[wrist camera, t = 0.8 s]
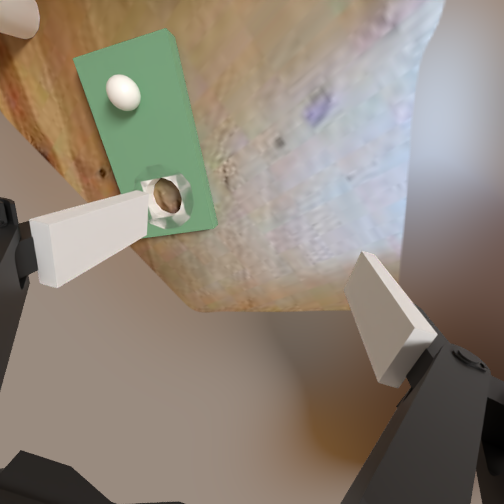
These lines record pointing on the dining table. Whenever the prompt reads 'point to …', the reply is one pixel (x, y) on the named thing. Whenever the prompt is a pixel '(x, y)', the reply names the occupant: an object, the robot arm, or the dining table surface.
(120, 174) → the green
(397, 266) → the dining table surface
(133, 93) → the ball
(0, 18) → the foam cup
